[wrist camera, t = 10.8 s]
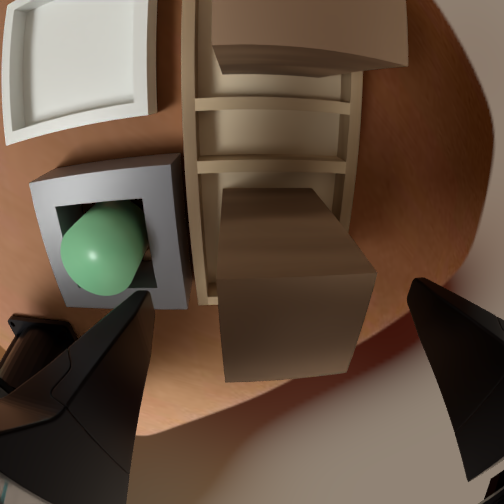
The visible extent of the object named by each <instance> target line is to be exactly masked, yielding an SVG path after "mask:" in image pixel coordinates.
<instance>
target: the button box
mask: <svg viewBox="0 0 504 504" xmlns="http://www.w3.org/2000/svg"><path fill="white" fill-rule="evenodd" d="M29 185H30V190H31V194H32V199H33V203H34V208H35V212H36V216H37V220H38V224H39V227H40V231H41V235H42V238H43V241H44V245H45V248H46V251H47V254H48V258H49V261H50V264H51V267H52V270H53V272H54V275H55V278H56V281H57V283H58V286H59V289H60V291H61V294H62V297H63V299H64V302H65V304H66V307H82V308H110V309H115V308H116V307H117V306H118V305H119V304H121V303H122V302H123V301H124V300H126V299H127V298H128V297H129V296H130V295H132V294H133V293H134V292H135V291H137V290H148V291H149V292H150V294H151V298H152V302H153V306H154V309H188V304H189V298H190V292H191V286H192V272H191V263H190V255H189V246H188V236H187V226H186V216H185V204H184V192H183V179H182V165H181V153H172V154H160V155H149V156H139V157H129V158H121V159H113V160H105V161H98V162H91V163H84V164H78V165H72V166H66V167H61V168H55V169H53V170H51V171H49V172H48V173H46V174H44V175H42V176H40V177H39V178H37V179H35V180H34V181H32V182H30V183H29ZM140 198H142V200H143V207H144V214H145V221H146V227H147V234H148V240H149V246H150V251H151V257H152V261H141V263H140V265H139V267H138V269H137V271H136V273H135V276H134V278H133V280H132V282H131V284H130V285H129V287H128V288H127V289H125V290H124V291H123V292H121V293H119V294H116V295H111V296H102V295H97V294H93V293H91V292H88V291H86V290H85V289H83V288H82V287H80V286H79V285H78V284H76V283H75V282H74V281H73V280H72V278H71V277H70V276H69V274H68V273H67V271H66V269H65V267H64V265H63V262H62V259H61V242H62V239H63V237H64V235H65V233H66V232H67V231H68V230H69V229H70V228H71V227H72V226H73V225H74V224H75V223H76V222H77V221H78V220H79V219H80V218H81V217H82V216H83V211H82V206H81V204H83V203H93V202H104V201H115V200H127V199H140Z"/></svg>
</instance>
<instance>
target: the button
mask: <svg viewBox="0 0 504 504" xmlns="http://www.w3.org/2000/svg"><path fill="white" fill-rule="evenodd" d="M148 246H149V240H148V234H147V227H146V221H145V214H144V212H143V211H142V210H141V209H140V208H139V207H138V206H137V205H136V204H135V203H133V202H131V201H130V200H115V201H104V202H97V203H96V204H95V205H93V206H92V207H91V208H90V209H89V210H88V211H87V212H86V213H85V214H84V215H83V216H82V217H81V218H80V219H79V220H78V221H77V222H76V223H75V224H74V225H73V226H72V227H71V228H70V229H69V230H68V231H67V232H66V233H65V235H64V237H63V239H62V242H61V259H62V262H63V265H64V267H65V269H66V271H67V273H68V274H69V276H70V277H71V278H72V280H73V281H74V282H75V283H76V284H78V285H79V286H80V287H82V288H83V289H85V290H86V291H88V292H91V293H93V294H97V295H102V296H111V295H116V294H119V293H121V292H123V291H124V290H125V289H127V288H128V287H129V285H130V284H131V282H132V280H133V278H134V276H135V273H136V271H137V269H138V267H139V265H140V263H141V261H142V258H143V256H144V254H145V252H146V250H147V248H148Z"/></svg>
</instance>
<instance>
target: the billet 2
mask: <svg viewBox="0 0 504 504" xmlns="http://www.w3.org/2000/svg"><path fill="white" fill-rule="evenodd" d="M376 276H377V272H376V270H375V269H374V268H373V266H372V265H371V263H370V262H369V261H368V259H367V258H366V257H365V255H364V254H363V252H362V251H361V250H360V248H359V247H358V246H357V244H356V243H355V242H354V240H353V239H352V238H351V236H350V235H349V234H348V233H347V231H346V230H345V229H344V227H343V226H342V225H341V224H340V222H339V221H338V220H337V218H336V217H335V216H334V215H333V213H332V212H331V211H330V210H329V208H328V207H327V206H326V205H325V203H324V202H323V201H322V200H321V199H320V197H319V196H318V195H317V194H316V192H315V191H314V190H313V189H312V188H228V189H223V192H222V204H221V217H220V231H219V245H218V260H217V276H216V283H217V296H218V309H219V321H220V333H221V344H222V354H223V365H224V375H225V382H253V381H270V380H284V379H296V378H306V377H314V376H323V375H331V374H339V373H346V372H347V369H348V366H349V364H350V361H351V358H352V355H353V352H354V349H355V347H356V344H357V341H358V338H359V334H360V331H361V328H362V325H363V322H364V319H365V315H366V312H367V309H368V305H369V302H370V298H371V295H372V291H373V287H374V284H375V280H376Z"/></svg>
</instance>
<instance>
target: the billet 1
mask: <svg viewBox="0 0 504 504" xmlns="http://www.w3.org/2000/svg"><path fill="white" fill-rule="evenodd" d="M212 48H213V50H214V53H215V56H216V58H217V61H218V64H219V67H220V69H221V72H222V75H229V74H263V75H288V76H303V77H314V78H321V77H327V76H332V75H338V74H345V73H351V72H358V71H366V70H374V69H384V68H394V67H408V28H407V10H406V0H212Z"/></svg>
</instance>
